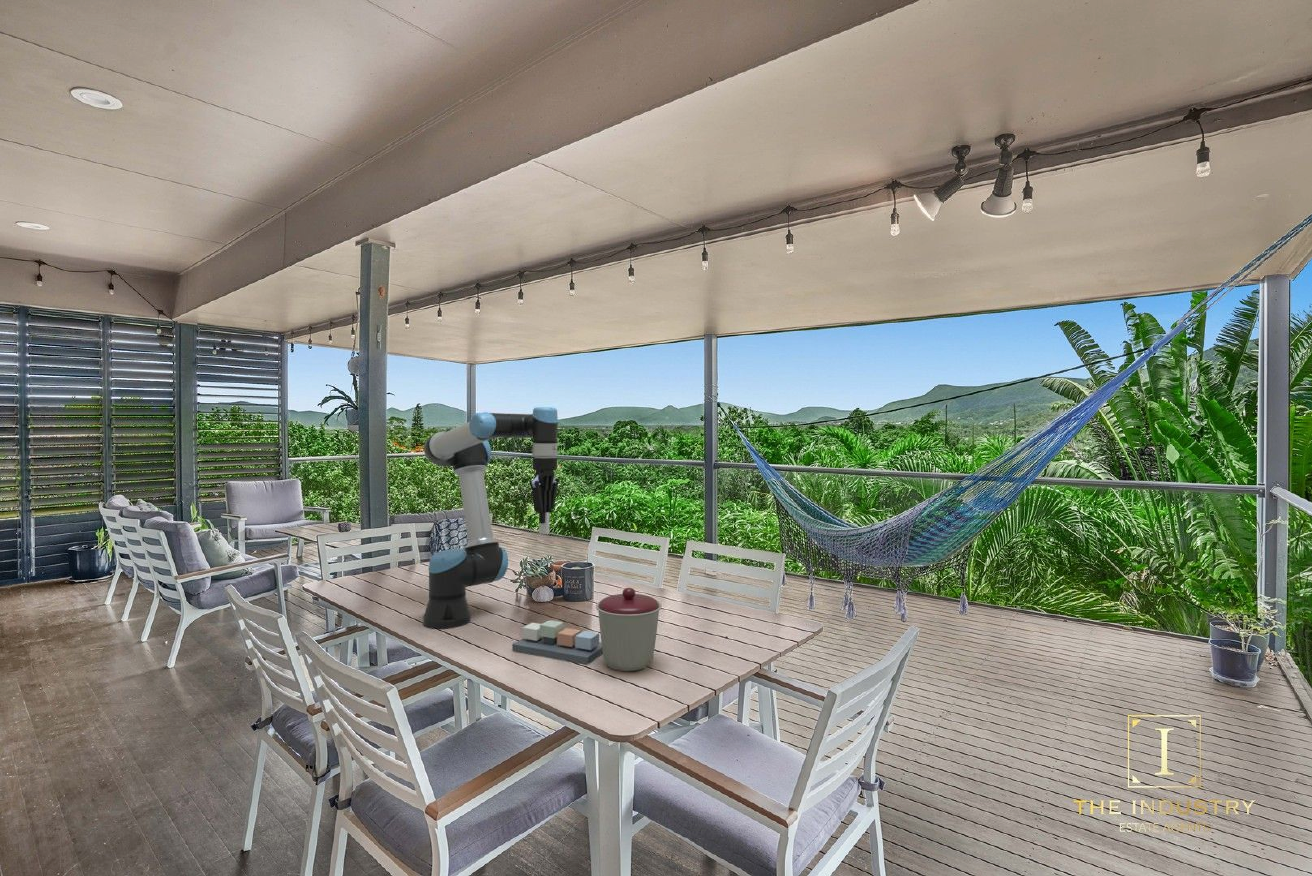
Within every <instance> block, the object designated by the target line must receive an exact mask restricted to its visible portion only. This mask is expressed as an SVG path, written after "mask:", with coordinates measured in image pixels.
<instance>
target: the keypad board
mask: <svg viewBox="0 0 1312 876" xmlns="http://www.w3.org/2000/svg"><path fill="white" fill-rule="evenodd" d="M511 645H512V649H511V650H512V652H516V653H522V654H526V655H527V654H528V655H533V656H539V657H544V658H549V659H553V660H559V661H564V662H570V663H575V664H576V663H577V664H580V665H581V664H582V665H590V664H591V663H592V662H594V661H595V660H596V659H598V658H599V657H601V656H603V651H602V643H601V641H599V645H597V646H596V647H594V648H593V649H592V650H587V649H582V648H576V647H575V645H574V646H573V647H570V646H564V645H558V644H557V637H556V638H549V637H543V638H541V639H539V640H537V641H535V640H530V639H524V638H521V639H519V640H518V641H515V642H514V643H512V644H511Z"/></svg>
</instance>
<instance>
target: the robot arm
mask: <svg viewBox="0 0 1312 876" xmlns="http://www.w3.org/2000/svg"><path fill="white" fill-rule="evenodd" d="M558 418H559V417H558V410H557V408H555V407H551V406H548V407H547V406H538V407H537V406H536V407H534V408H533V410H532V413H504V412H502V413H501V412H499V413H498V412H487V411H486V412H485V411H483V412H475V413H473V415H472V416H471V417H470V420H469V421H468V422H466V423H464V424H461V425H459V426H457V427H455V428H452V429H449V431H439V432H437V433H434V434H432V435H430V436H429V437H428V438H427V439H426V441H425V442H424V444H423V453H424V455H425V458H427V459H426V460H428V461H429V462H431V464H434V465H436V466H440V467H452V470H453V474H455V475H456V476H457V477H458V481H459V487H460V493H461V495H460V496H461V500H462V501H461V502H462V507H463V508H462V509H463V515H464V516H463V517H464V522H465V527H466V528H465V529H466V535H467V544H466V545H465V546H464V549H463V548H451V549H450V548H448V549H444V550H441V551H438V552H436V553H434V554H433V555H432V556H430V558H429V563H428V602H427V604H426V608H425V612H424V614H423V616H422V617H423V619H422V621H423V622H422V624H423V626H424V627H427V628H431V629H450V628H456V627H460V626H464V625H466V624H468V623H469V622H471V620H472V613H471V610H470V607H469V603H468V600H467V596H466V595H467V588H469V587H472V586H479V585H485V584H491V583H493V582H497V581H500V580H502V579H503V577H504V576H505V575H506V573H507V570H508V567H509V557H508V553H507V551H506V549H505V548H504V547H502V546H500V544H499V541H498V540H497V539H496V538H494V534H493V528H492V521H491V516H490V515H491V514H490V510H489V501H488V495H487V489H486V482H485V476H484V472H485V471H486V470H487V468H488V467H487V465H488V464H489V463H490V461H491V459H492V458H491V456H492V448H491V445H490V442H489V440H491V439H496V438H497V439H498V438H505V439H506V438H510V439H511V438H513V439H514V438H520V439H526V438H528V439H529V438H532V451H531V453H532V456H533V458H532V470H533V471H535V474H534V479H533V480H529V486H530V488H531V494H532V501H533V502H532V503H533V511H534V512H536V513H538V523H539V525H538V527H539V528H538V529H539V530H538V531H539V532H538V533H539V535H549V534H550V521H551V520H550V519H551V518H550V517H551V513H553V512H554V509H555V505H556V500H557V499H556V498H557V491H558V485H559V483H560V479H559V478H556V477H555V476H556V475H555V471H556V470H558V458H556V457H557V456H558V433H559V432H558V431H559V430H558V429H559V425H558V424H559V419H558Z"/></svg>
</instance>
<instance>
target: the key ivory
mask: <svg viewBox="0 0 1312 876" xmlns="http://www.w3.org/2000/svg"><path fill="white" fill-rule="evenodd" d="M541 624H542V623H536V622H530V623H528V624H527V625H525V626H522V633H521V634H522V636H521V637H522V638H521V639H523V638H524V639H530V640H535V641H537V640H539V639H541V638H543V636H540V625H541Z"/></svg>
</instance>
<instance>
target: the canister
mask: <svg viewBox="0 0 1312 876" xmlns="http://www.w3.org/2000/svg"><path fill="white" fill-rule="evenodd" d="M595 608H596V610H597V611H598V624H599V631H600V633H599V635H600V642H601V643H602V651H603V654H602V657H603V660H604V663H605V664H606V665H607V667H609V668H611V669H613V670H616V671H620V672H635V671H640V670H643V669H645V668H647V667H648V666H650V664H651V663H652V661H653V658H654V655H655V648H656V640H657V634H658V626H659V625H658V623H659V616H660V615H659V613H660V610H662V603H661V602H660V601H658V600H657V599H655V598H654V597H652V596H650V595H646V594H641V593H640V594H639V593H636V590H635V589H634V588H633V587H625V588H624V589H623V590H622V593H619V594H617V593H616V594H612V595H609V596H606V597H604V598H602V599H601V600H599V601H598V602H597V603H596V605H595Z"/></svg>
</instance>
